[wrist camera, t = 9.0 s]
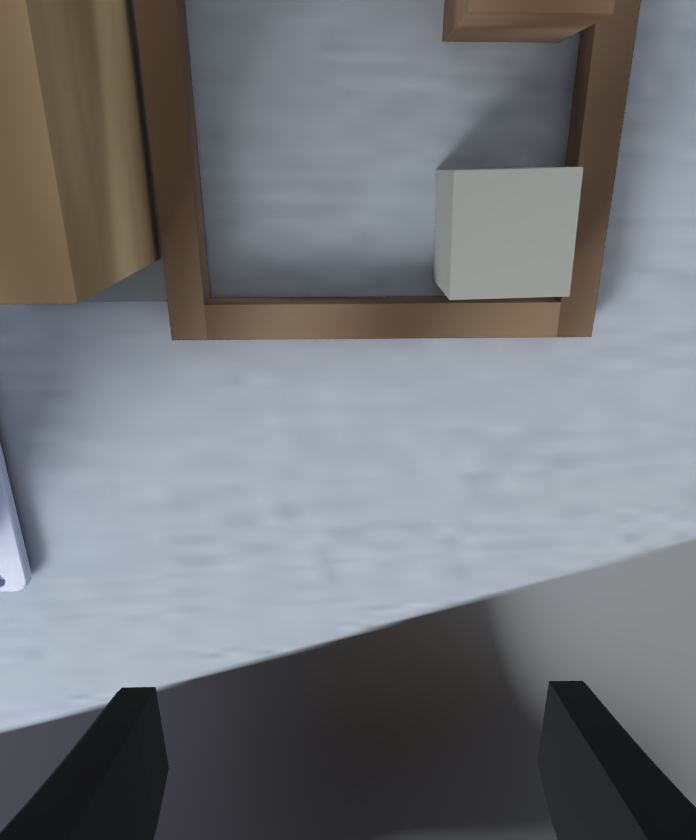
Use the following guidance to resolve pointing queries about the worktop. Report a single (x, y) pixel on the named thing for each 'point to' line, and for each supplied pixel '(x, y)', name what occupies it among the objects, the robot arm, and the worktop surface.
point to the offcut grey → (506, 231)
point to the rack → (374, 316)
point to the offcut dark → (520, 19)
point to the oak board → (71, 151)
